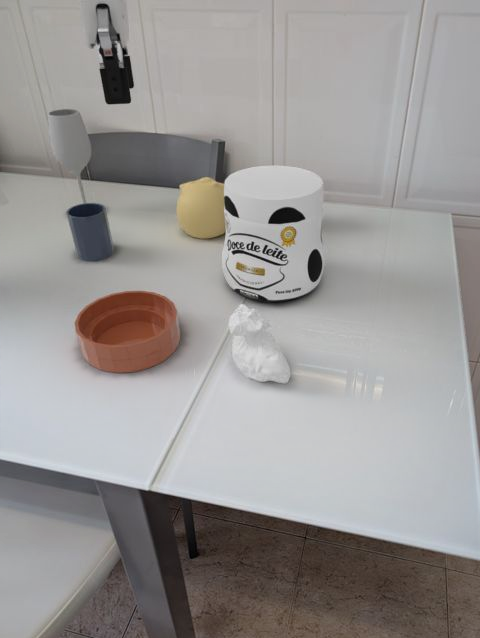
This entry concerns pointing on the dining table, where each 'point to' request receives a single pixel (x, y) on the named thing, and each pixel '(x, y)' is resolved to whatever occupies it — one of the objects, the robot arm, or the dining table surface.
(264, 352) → the bust
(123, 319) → the bowl
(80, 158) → the wineglass
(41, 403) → the dining table surface
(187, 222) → the sculpture
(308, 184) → the white doce de leite
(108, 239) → the cup
